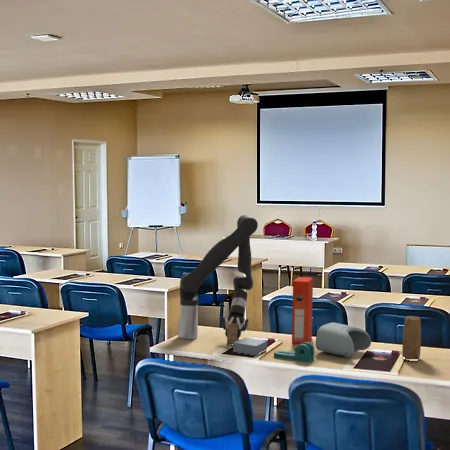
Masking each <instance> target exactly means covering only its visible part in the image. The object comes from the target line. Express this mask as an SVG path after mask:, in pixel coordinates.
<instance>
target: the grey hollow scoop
mask: <svg viewBox="0 0 450 450" xmlns="http://www.w3.org/2000/svg"><path fill="white" fill-rule="evenodd" d="M315 337H316V338H315V349H316V350H318V351H320V352H325V353H329V354H333V355H337V356H340V357H342V356H343V358H350V357H352V356H353V354H354V353H355V352H354V351H356V352H358V351H357V350H362V351H365V350H368V349H369V348H370V346H372V345H371V344H372V339H371V337H370V335H369V333H368V332H367V331H366V330H364V329H362V328H359V327H356V326H351V325H348V324H343V323H337V322H334V321H333V322H329V323H326V324H323V325H321V326H320V327H319V328H318V330H317V332H316V336H315Z"/></svg>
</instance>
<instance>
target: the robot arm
mask: <svg viewBox="0 0 450 450" xmlns="http://www.w3.org/2000/svg"><path fill="white" fill-rule="evenodd" d="M258 224H259V223H258V221H257V219H255V217H252V216H251V215H249V214H242V215H241V216H239V217H238V219H237V222H236V225H237V227H236V229H235V230H234V231H233V232H232V233H231V234H230V235H228V236H227V237H224V238H223V239H221V240H219V241H218V242H217V243H215V244H214V245H213V246H212V247H211V248H210V250H209V251H208V252H207V253H206V254H205V256H204V257H203V258H202V260H201V262H200V263H199V264H198V265H197V266H196V267H195V268H194V269H193V270H191V272H186V273H184V274H183V275H181V277H180V280H179V281H180V282H179V301H180V302H179V303H180V305H179V306H180V307H179V318H178V319H177V321H178V322H177V323H178V324H177V326H178V327H177V338H180V339H183V340H194V339H197V338H198V333H199V332H198V326H199V325H198V324H199V322H198V321H199V294H198V290H199V287H200V286H201V285H202V284H203V282H204V281H206V279H207V277H209V275H210V274H212V273H213V272H215V270H217V269H218V268H219V266H221V265H222V264H223V263H224V262H225V261H226V260H227V259H228V258H229V257H230V256H231V254H233V252H235V251H236V250H237V249H238V251H237V252H238V255H237V271H238V272H239V273H242V274H244V276H243V275H237V276H235V277H234V278H233V282H232V283H233V284H232V285H233V298H232V301H231V305H230V310H229V314H228V317H226V318H225V317H224V316H223V317H222V318H221V319H222V329H223V330H224V331H225V332H224V335H225V337H226V338H227V325H228V324H229V323H236V324H239V330H238V334H237V338H239V339H240V338H241V335H242V332H245V331H246V330H247V329H248V326H249V323H250V320H249V318H246V319H245V313H246V309H247V300H248V292H247V291H251V290H252V289H253V286H254V280H253V276H252V250H251V241H250V240H251V236H252V235H254V233H256V231H257V230H258V226H259V225H258ZM227 322H228V323H227ZM226 323H227V325H226ZM243 323H244V324H243ZM242 324H243V326H242Z"/></svg>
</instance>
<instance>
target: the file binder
mask: <svg viewBox="0 0 450 450" xmlns="http://www.w3.org/2000/svg"><path fill="white" fill-rule="evenodd" d="M313 287H314V278H313V277H309V276H308V277H305V276H298V277H297V278H295V279H294V280H293V281H292V309H291V310H292V313H291V314H292V316H291V319H292V321H291V322H292V323H291V345H297V346H299V345H300V344H302V343H304V342H309V343H310V341H311V340H312V334H313V332H312V331H313V292H314V289H313Z"/></svg>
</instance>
